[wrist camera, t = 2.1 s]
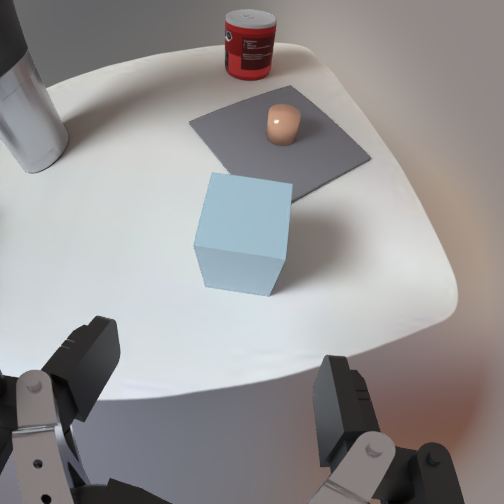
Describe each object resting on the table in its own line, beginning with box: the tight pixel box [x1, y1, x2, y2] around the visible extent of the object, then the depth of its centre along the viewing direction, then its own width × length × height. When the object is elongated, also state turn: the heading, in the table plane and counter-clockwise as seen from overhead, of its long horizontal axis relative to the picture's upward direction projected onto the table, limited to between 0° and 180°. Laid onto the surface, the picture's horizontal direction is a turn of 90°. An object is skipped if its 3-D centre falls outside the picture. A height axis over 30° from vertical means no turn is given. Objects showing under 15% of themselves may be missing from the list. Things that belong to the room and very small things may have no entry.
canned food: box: [225, 9, 277, 80], centre depth 40 cm, size 8×8×11 cm
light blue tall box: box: [193, 173, 293, 296], centre depth 26 cm, size 6×6×10 cm
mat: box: [189, 85, 371, 203], centre depth 38 cm, size 18×18×1 cm
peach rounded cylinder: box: [266, 104, 301, 146], centre depth 36 cm, size 4×4×4 cm
